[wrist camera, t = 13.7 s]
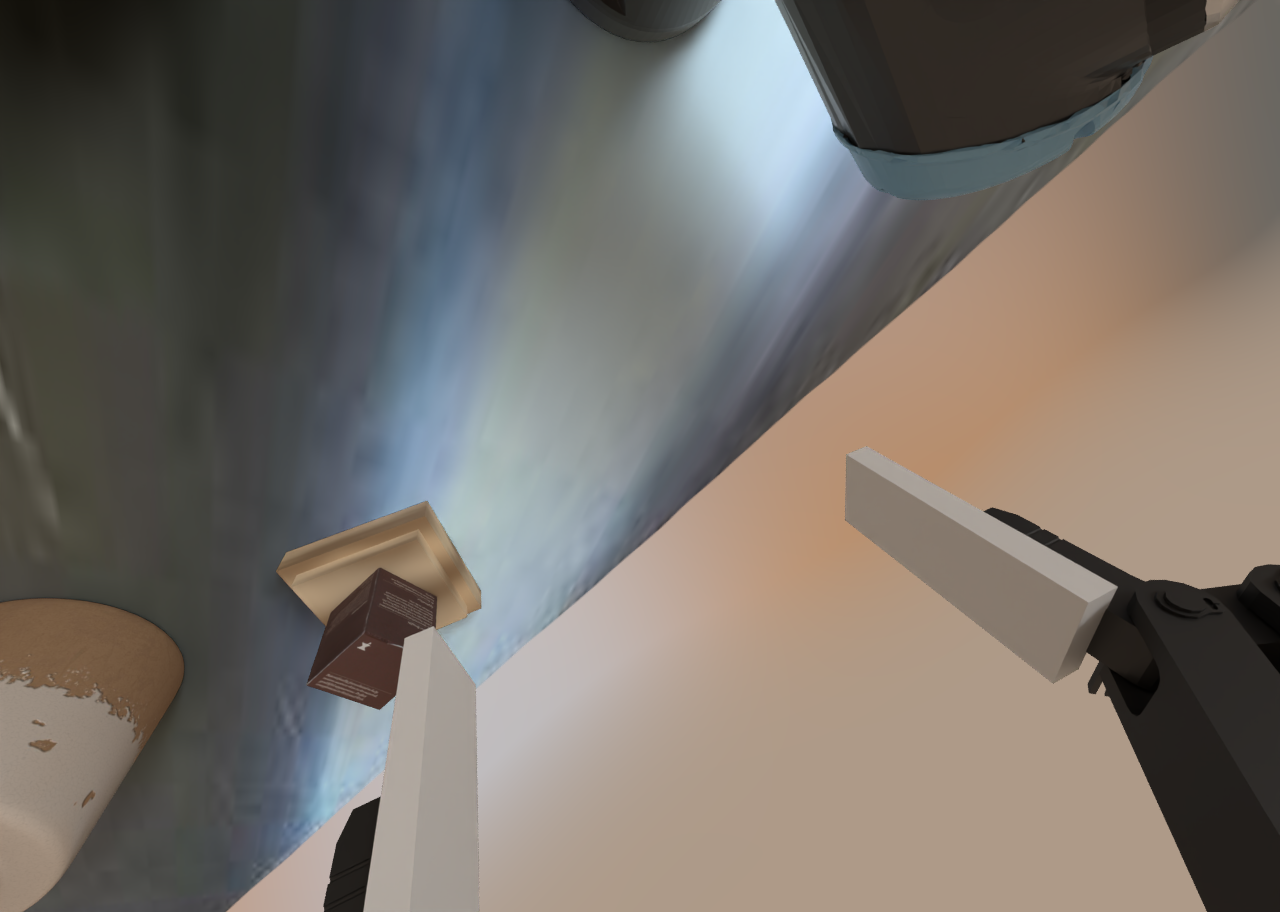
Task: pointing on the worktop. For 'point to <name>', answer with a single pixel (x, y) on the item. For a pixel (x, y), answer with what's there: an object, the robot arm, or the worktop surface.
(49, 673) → the vase
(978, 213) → the worktop surface
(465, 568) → the plinth
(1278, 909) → the robot arm
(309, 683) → the box
